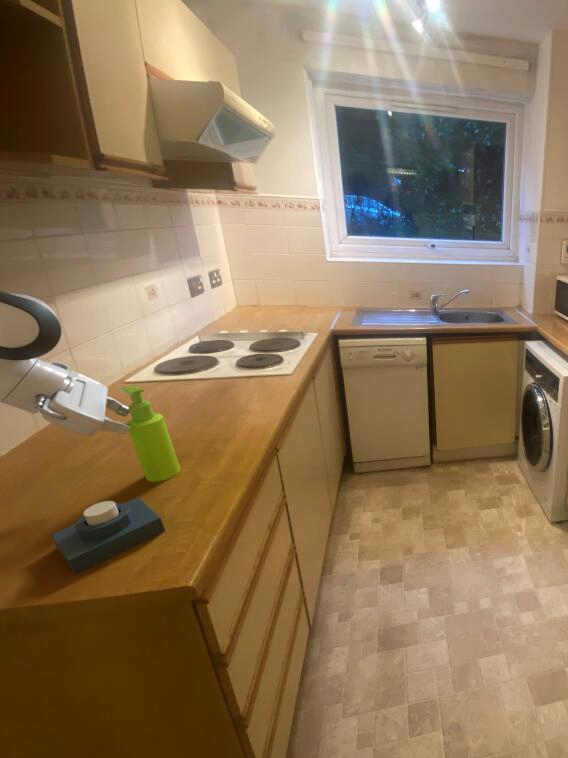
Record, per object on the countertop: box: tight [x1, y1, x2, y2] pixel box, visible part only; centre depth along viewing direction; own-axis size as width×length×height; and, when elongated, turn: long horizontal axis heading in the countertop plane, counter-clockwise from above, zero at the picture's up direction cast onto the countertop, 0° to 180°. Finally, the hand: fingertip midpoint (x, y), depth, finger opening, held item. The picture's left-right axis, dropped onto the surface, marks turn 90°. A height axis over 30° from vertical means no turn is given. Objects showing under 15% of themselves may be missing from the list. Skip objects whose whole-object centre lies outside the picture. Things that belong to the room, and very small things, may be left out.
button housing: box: [50, 497, 166, 575], centre depth 74 cm, size 12×10×5 cm
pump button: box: [82, 500, 119, 526], centre depth 73 cm, size 4×4×2 cm
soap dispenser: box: [117, 385, 181, 483], centre depth 89 cm, size 6×7×20 cm
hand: (128, 421), depth 88 cm, fingers open, 8 cm apart
